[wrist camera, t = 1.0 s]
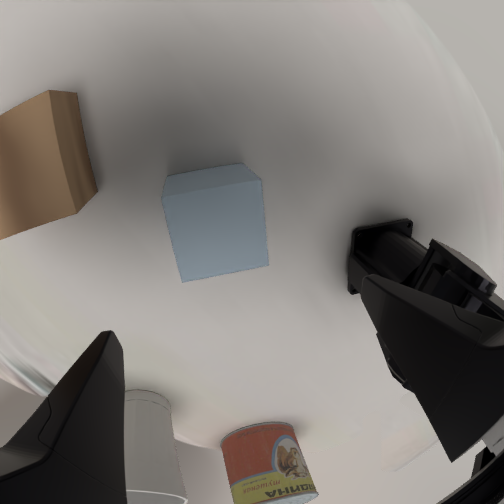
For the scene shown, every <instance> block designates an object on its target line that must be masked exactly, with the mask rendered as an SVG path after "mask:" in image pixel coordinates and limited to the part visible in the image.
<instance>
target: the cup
mask: <svg viewBox="0 0 504 504" xmlns="http://www.w3.org/2000/svg"><path fill="white" fill-rule="evenodd" d="M124 459H125V480H126V494H127V496H126V497H127V503H128V504H186V503H187V502H188V498H187V495H186V491H185V487H184V483H183V479H182V474H181V471H180V467H179V461H178V456H177V451H176V446H175V439H174V434H173V427H172V421H171V408H170V403H169V402H168V400H167V399H165V398H164V397H163V396H161V395H159V394H156V393H153V392H150V391H144V390H131V391H126V392H125V405H124Z"/></svg>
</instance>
